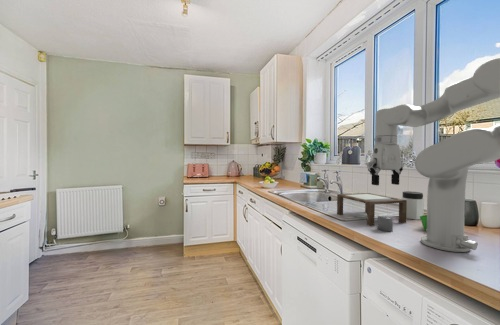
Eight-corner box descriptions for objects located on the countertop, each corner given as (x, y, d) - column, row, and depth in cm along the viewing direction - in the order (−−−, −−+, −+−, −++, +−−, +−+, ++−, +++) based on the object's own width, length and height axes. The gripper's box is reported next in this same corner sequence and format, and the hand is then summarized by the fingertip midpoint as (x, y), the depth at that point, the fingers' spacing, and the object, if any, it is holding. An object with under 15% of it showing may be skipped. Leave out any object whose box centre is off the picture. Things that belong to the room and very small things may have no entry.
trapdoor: (396, 202, 109) (397, 199, 109) (370, 204, 105) (371, 200, 105) (368, 196, 126) (368, 193, 126) (344, 197, 122) (344, 194, 122)
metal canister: (395, 231, 95) (396, 218, 95) (384, 232, 94) (385, 219, 93) (385, 227, 100) (385, 215, 100) (374, 228, 99) (374, 216, 98)
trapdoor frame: (406, 222, 107) (406, 200, 107) (370, 226, 102) (370, 202, 102) (368, 212, 129) (368, 193, 129) (337, 214, 124) (337, 194, 123)
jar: (426, 220, 112) (427, 194, 112) (406, 219, 114) (407, 193, 113) (417, 215, 121) (417, 191, 121) (399, 215, 122) (399, 191, 122)
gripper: (375, 139, 90) (374, 186, 91) (412, 140, 95) (411, 185, 95) (360, 141, 97) (360, 184, 98) (395, 142, 102) (394, 183, 103)
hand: (385, 184), depth 97 cm, fingers open, 9 cm apart
